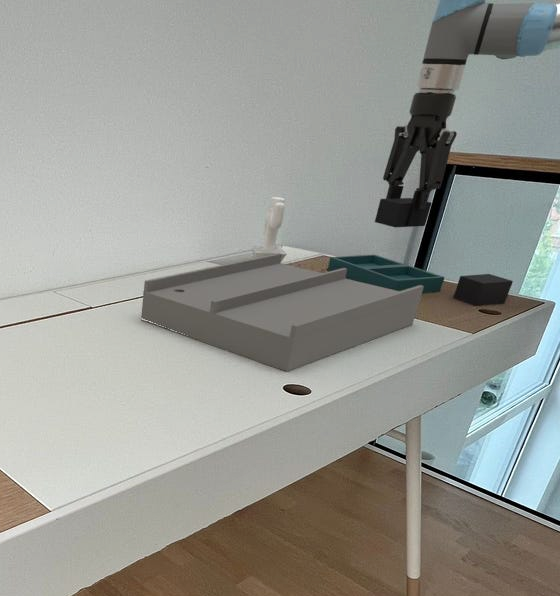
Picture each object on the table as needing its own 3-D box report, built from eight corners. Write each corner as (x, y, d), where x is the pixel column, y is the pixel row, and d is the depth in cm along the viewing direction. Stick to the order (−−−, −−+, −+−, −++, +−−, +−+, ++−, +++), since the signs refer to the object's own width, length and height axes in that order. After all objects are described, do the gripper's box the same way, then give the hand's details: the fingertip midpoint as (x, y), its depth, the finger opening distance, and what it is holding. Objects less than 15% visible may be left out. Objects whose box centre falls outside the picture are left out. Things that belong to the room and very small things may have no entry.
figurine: (277, 262, 165) (289, 194, 156) (284, 271, 157) (298, 201, 148) (247, 260, 165) (258, 193, 157) (253, 270, 157) (265, 199, 149)
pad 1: (424, 226, 140) (431, 202, 137) (394, 227, 137) (401, 203, 135) (403, 220, 145) (410, 197, 142) (374, 222, 142) (380, 198, 140)
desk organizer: (412, 324, 125) (424, 286, 121) (287, 371, 103) (296, 326, 99) (272, 287, 144) (278, 253, 141) (140, 320, 122) (144, 280, 118)
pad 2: (504, 303, 140) (513, 280, 137) (475, 305, 137) (483, 283, 135) (481, 295, 144) (489, 273, 142) (452, 297, 142) (460, 275, 139)
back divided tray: (440, 291, 146) (444, 277, 144) (392, 295, 142) (397, 280, 140) (371, 267, 163) (374, 254, 161) (327, 270, 159) (330, 256, 158)
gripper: (385, 89, 134) (354, 215, 147) (460, 93, 120) (419, 232, 132) (414, 90, 136) (381, 214, 149) (491, 94, 122) (448, 230, 135)
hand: (399, 222), depth 141 cm, fingers closed on pad 1, 6 cm apart
